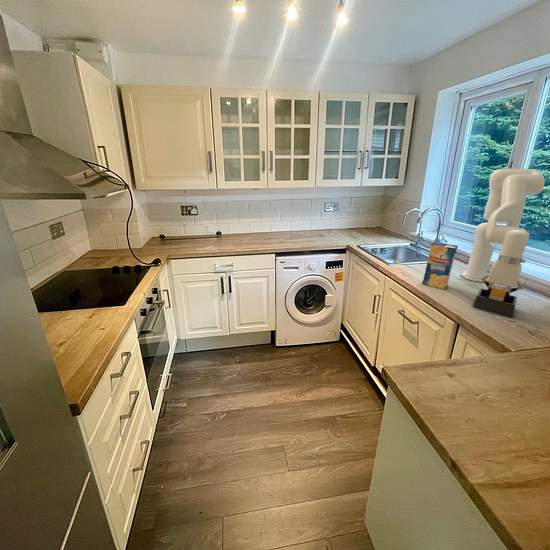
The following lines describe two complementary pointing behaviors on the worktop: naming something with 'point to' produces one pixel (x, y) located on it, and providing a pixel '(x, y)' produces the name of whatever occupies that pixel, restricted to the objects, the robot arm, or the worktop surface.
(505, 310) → the basket
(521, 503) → the worktop surface
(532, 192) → the robot arm
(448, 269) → the blue yellow food box
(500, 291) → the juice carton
